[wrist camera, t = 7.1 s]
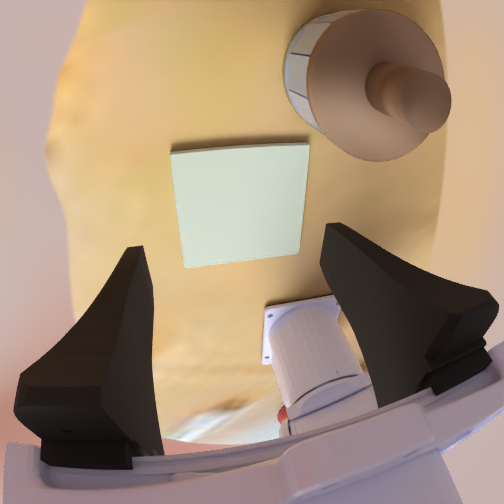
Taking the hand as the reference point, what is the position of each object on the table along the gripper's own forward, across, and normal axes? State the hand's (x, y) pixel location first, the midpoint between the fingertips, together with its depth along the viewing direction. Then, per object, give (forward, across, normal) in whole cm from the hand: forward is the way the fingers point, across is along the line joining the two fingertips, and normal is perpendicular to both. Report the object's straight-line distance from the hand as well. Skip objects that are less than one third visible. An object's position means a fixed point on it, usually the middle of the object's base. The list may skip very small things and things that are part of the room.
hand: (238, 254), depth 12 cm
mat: (+10, -2, +4) cm, 11 cm away
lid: (+6, -9, -6) cm, 12 cm away
